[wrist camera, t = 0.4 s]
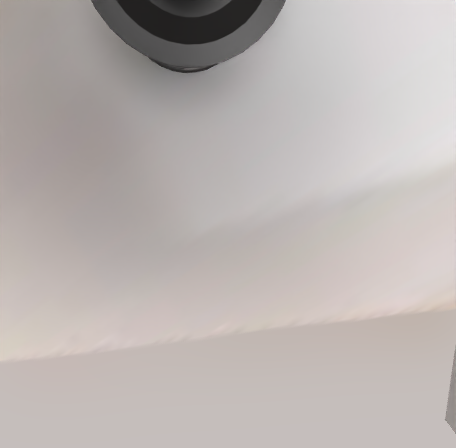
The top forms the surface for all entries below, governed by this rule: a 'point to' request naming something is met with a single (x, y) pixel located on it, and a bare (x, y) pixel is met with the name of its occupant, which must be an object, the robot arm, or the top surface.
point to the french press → (189, 28)
